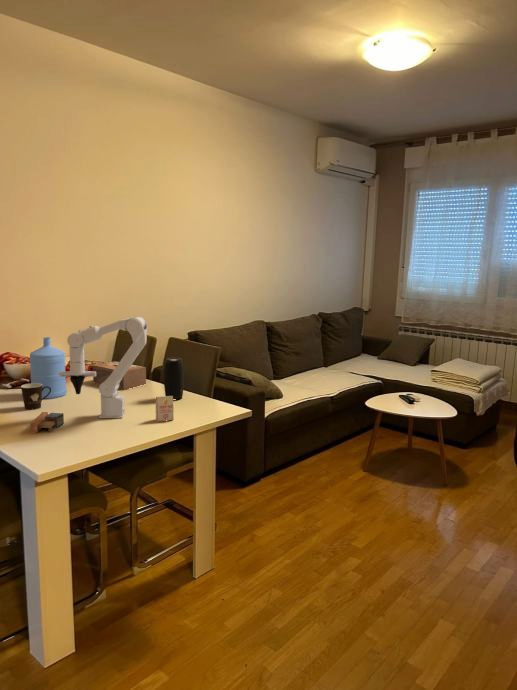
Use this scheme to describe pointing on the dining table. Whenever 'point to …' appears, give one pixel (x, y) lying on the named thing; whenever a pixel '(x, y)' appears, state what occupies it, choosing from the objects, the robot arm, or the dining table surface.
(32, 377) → the water jug
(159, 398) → the small printed carton
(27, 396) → the coffee mug
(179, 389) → the portable speaker
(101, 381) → the tissue box cover
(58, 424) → the open storage bin
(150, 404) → the dining table surface
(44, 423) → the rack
